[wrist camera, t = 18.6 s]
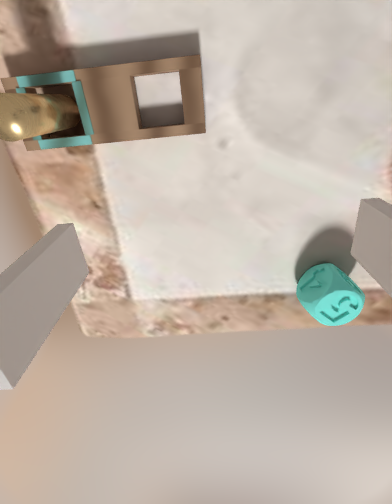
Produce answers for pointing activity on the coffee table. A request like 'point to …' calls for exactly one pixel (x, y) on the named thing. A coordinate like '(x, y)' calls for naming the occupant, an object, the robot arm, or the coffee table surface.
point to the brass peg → (35, 114)
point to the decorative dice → (329, 295)
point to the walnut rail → (116, 101)
